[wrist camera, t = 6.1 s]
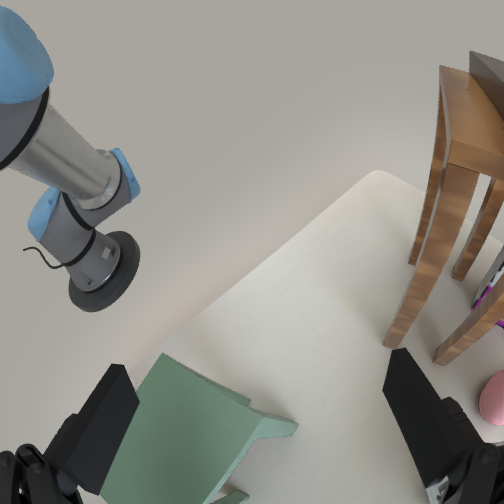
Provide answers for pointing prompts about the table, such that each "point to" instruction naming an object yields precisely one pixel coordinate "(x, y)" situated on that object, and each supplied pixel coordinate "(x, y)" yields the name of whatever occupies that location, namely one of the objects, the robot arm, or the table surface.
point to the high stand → (456, 208)
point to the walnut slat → (489, 78)
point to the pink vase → (493, 400)
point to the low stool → (185, 439)
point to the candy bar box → (490, 281)
